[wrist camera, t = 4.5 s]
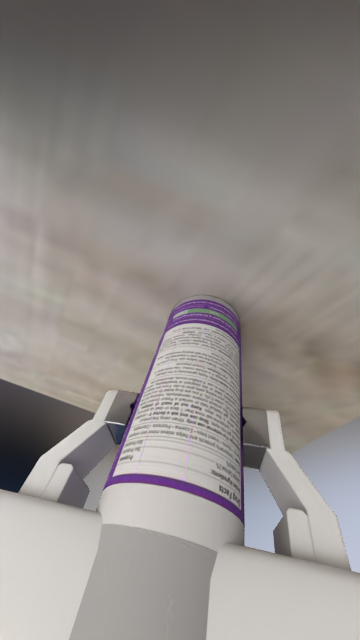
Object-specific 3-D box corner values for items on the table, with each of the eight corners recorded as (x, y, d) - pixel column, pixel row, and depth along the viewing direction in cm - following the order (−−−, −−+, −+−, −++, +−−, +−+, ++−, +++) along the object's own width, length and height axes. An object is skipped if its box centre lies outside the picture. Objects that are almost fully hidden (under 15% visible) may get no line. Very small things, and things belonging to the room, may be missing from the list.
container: (213, 361, 18) (165, 809, 6) (157, 329, 17) (-29, 777, 5) (256, 320, 15) (332, 1026, 3) (192, 280, 14) (-45, 1032, 2)
